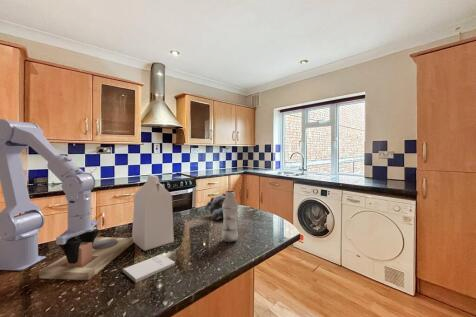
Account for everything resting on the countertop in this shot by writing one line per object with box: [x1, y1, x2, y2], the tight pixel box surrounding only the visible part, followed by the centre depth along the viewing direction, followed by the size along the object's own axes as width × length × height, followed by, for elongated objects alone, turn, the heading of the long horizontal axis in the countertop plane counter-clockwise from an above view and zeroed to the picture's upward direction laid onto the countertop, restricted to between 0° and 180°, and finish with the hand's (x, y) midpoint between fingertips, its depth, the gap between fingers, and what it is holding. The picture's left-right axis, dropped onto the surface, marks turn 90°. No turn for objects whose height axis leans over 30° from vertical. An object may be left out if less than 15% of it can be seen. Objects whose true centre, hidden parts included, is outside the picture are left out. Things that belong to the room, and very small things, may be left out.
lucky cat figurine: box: [206, 193, 226, 221], centre depth 120 cm, size 15×12×14 cm
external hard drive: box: [122, 254, 176, 284], centre depth 67 cm, size 2×8×12 cm
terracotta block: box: [67, 242, 92, 268], centre depth 67 cm, size 4×4×7 cm
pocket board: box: [38, 236, 134, 281], centre depth 73 cm, size 14×24×2 cm, turn 178°
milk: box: [131, 174, 175, 251], centre depth 86 cm, size 12×12×26 cm
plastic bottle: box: [221, 190, 239, 243], centre depth 88 cm, size 6×7×20 cm
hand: (79, 258), depth 67 cm, fingers open, 5 cm apart
